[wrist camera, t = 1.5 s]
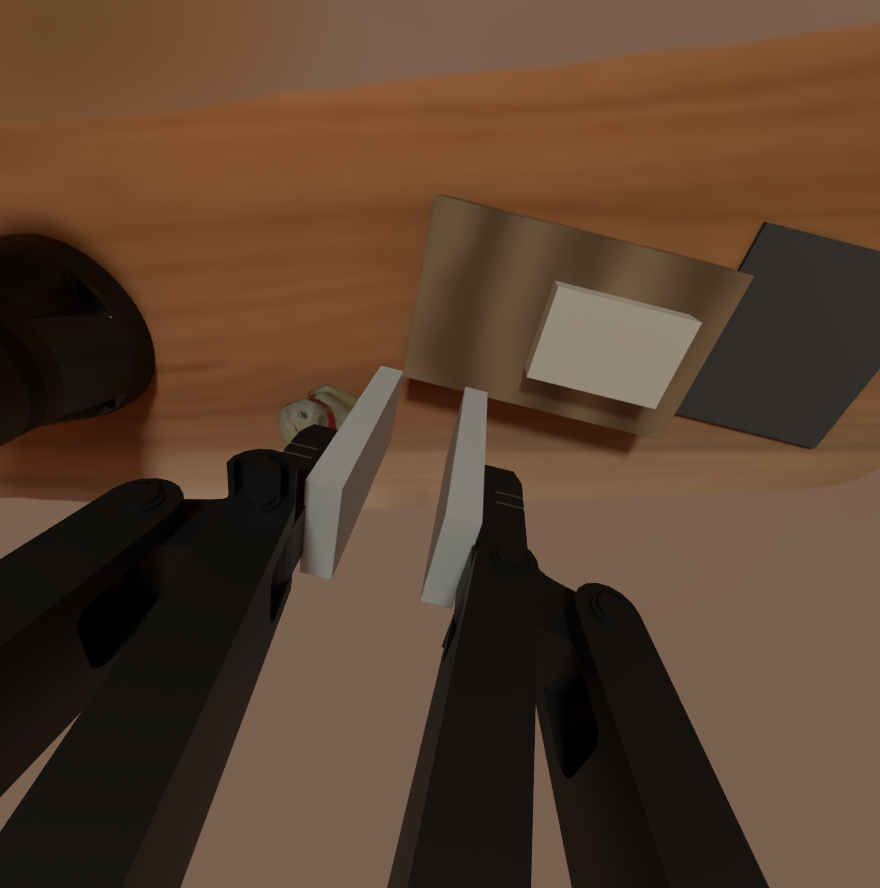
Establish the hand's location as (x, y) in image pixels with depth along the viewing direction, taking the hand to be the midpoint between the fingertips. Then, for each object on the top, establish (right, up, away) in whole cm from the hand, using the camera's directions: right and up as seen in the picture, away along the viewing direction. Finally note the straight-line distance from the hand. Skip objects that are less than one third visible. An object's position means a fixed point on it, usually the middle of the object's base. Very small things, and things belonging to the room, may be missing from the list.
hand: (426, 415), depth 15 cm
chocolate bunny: (-8, +2, +24) cm, 26 cm away
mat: (+26, +6, +17) cm, 32 cm away
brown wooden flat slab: (+9, +9, +18) cm, 22 cm away
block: (+12, +6, +14) cm, 19 cm away
